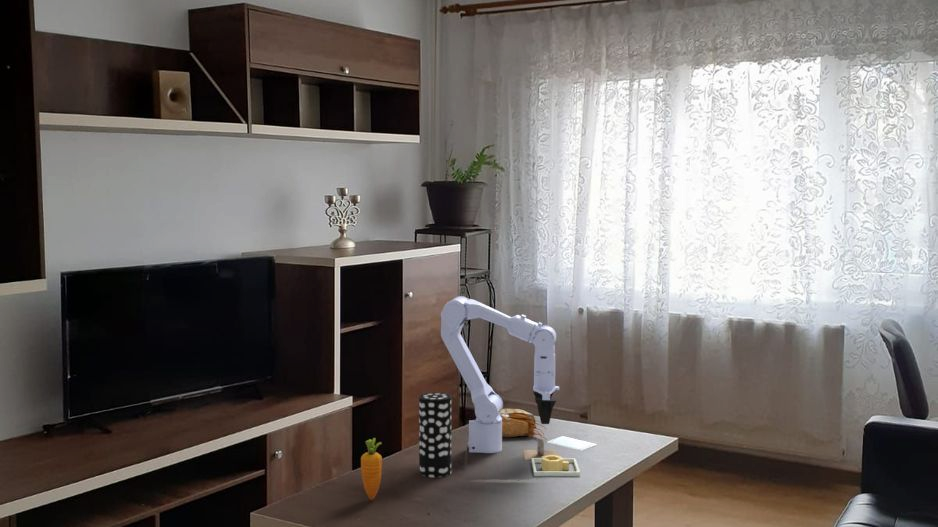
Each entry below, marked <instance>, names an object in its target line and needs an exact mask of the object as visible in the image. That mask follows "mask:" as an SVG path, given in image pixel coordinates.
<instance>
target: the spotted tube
mask: <svg viewBox="0 0 938 527" xmlns="http://www.w3.org/2000/svg"><path fill="white" fill-rule="evenodd" d="M418 434H419V435H418V451H419V452H418V465H419V468H418V472H419V475H421V476H423V477H425V478H443V477H447V476H450V475H451V474H452V394H449V393H446V392H445V393H444V392H427V393H422V394H420V395H418Z"/></svg>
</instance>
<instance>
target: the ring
mask: <svg viewBox="0 0 938 527" xmlns="http://www.w3.org/2000/svg"><path fill="white" fill-rule="evenodd" d="M562 458H563V457H562V456H560V455H557V456H556V455H547V456H543V457H542V463H541V471H567V470H568V471H569V470H570V463H569V462H568V461H563V459H562Z"/></svg>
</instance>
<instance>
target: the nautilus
mask: <svg viewBox="0 0 938 527" xmlns="http://www.w3.org/2000/svg"><path fill="white" fill-rule="evenodd" d="M499 414H500V416H501V418H502V438H503V437H504V438H514V437H519V436H520V437H528V436H530V437H532V438H533V439H534V440H537V437H536V436H535V435H537V436H540V438H544V440H546V441H548V439H547V438H545V434H544V432H543V431H542V430H541V429H540V428H537V426H538V425H539V426H541V427H543V428H544V430H547V427H546V426H544V425H543V424H541V420H536V417H535V416H534V414H533V413H530V412H528V411H525V410H524V409H519V408H502V410H501V411H500V412H499ZM536 422H538V423H536ZM538 430H539V431H540V432H541V433H542V434H543V435H542V434H541V433H540V432H539V431H538Z"/></svg>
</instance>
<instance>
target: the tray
mask: <svg viewBox="0 0 938 527" xmlns="http://www.w3.org/2000/svg"><path fill="white" fill-rule="evenodd" d="M562 459H563V461H568V462H569V464H573V466H574V469H575V471H569V470H568V471H567V470H562V471H543V470H538V471H537V467H536V464H537V463H539V464H542V458H532V460H531V467H532V470H533V471H532V472H533V477H581V471H580V468H579V465H578V462H577V459H576V458H574V457H571V458H570V457H569V458H568V457H562Z"/></svg>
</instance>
